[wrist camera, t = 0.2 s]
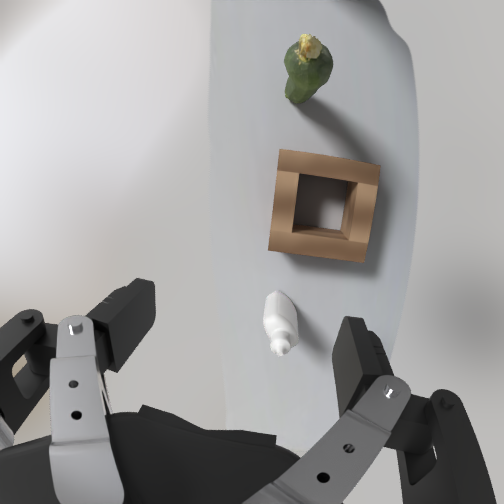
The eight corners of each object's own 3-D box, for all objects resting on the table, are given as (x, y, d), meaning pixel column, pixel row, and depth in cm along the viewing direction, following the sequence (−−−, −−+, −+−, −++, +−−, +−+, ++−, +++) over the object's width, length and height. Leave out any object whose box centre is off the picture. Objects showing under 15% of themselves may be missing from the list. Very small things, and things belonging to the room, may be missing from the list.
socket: (280, 151, 36) (279, 148, 31) (367, 165, 35) (380, 165, 30) (270, 239, 40) (268, 250, 35) (354, 250, 39) (364, 262, 34)
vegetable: (301, 76, 33) (315, 0, 14) (323, 98, 33) (360, 37, 14) (277, 95, 34) (270, 31, 15) (300, 118, 35) (317, 70, 16)
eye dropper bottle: (295, 288, 42) (298, 332, 30) (297, 321, 43) (300, 371, 32) (265, 290, 42) (258, 335, 31) (269, 323, 44) (263, 373, 32)
